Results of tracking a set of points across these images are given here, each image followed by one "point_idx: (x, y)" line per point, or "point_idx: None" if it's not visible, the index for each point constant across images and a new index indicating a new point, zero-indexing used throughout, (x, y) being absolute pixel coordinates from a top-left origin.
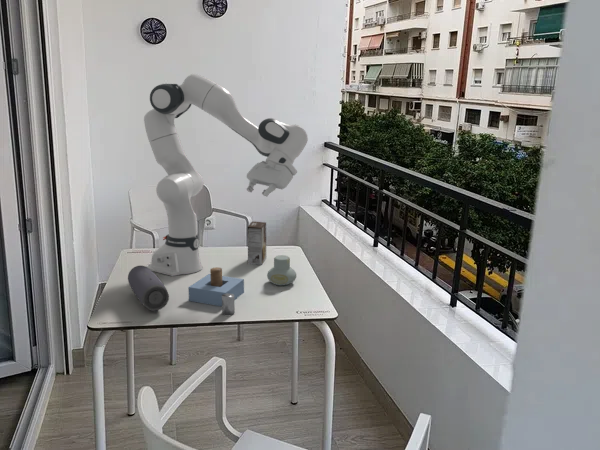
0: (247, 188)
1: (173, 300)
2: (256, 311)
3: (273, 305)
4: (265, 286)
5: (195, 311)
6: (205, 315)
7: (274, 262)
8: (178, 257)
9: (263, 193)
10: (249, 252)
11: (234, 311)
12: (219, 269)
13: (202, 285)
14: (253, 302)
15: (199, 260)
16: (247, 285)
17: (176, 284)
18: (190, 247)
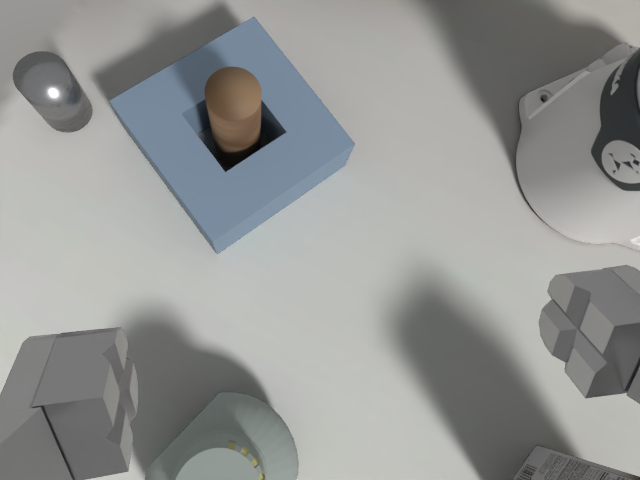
0: (621, 274)
1: (287, 12)
2: (13, 201)
3: (20, 288)
4: (226, 368)
5: (153, 30)
6: (101, 41)
7: (231, 440)
8: (569, 93)
9: (65, 333)
10: (565, 463)
11: (48, 123)
12: (222, 102)
13: (240, 65)
14: (99, 235)
15: (576, 208)
16: (279, 304)
17: (429, 79)
18: (599, 130)
